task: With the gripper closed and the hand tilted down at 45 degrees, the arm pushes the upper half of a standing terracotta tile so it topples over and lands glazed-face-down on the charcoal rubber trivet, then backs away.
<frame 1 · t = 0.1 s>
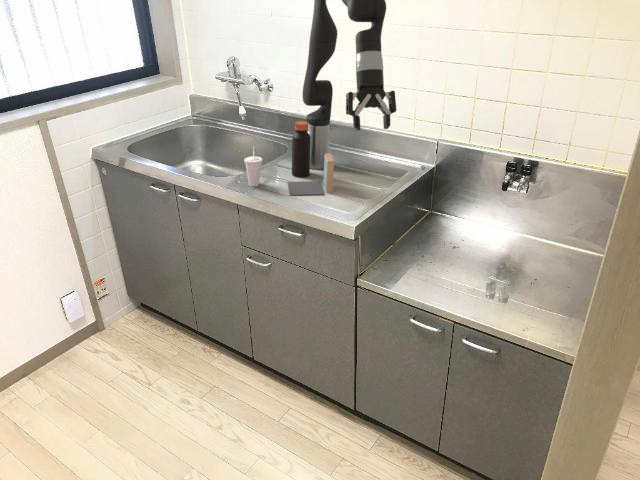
hand: (372, 129, 151), 31 cm above the counter, tool tilted 20°, fingers open, 8 cm apart
mat: (305, 188, 192), on the counter
smoothie: (253, 185, 194), on the counter
bottle: (300, 174, 204), on the counter
tile: (327, 188, 193), on the counter
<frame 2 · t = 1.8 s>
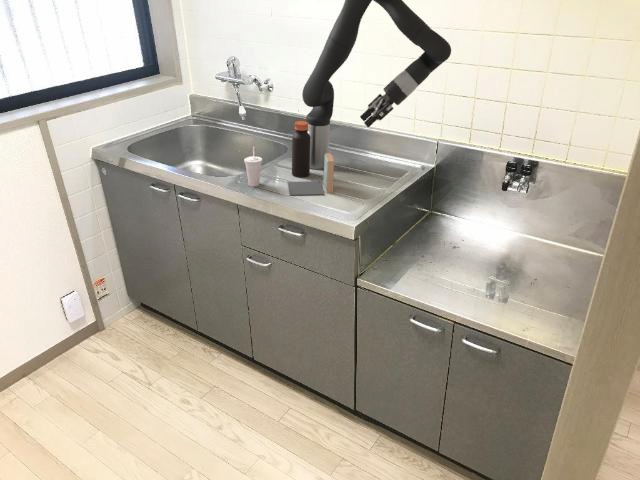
hand: (363, 122, 183), 24 cm above the counter, tool tilted 45°, fingers open, 7 cm apart
nothing on the counter moved.
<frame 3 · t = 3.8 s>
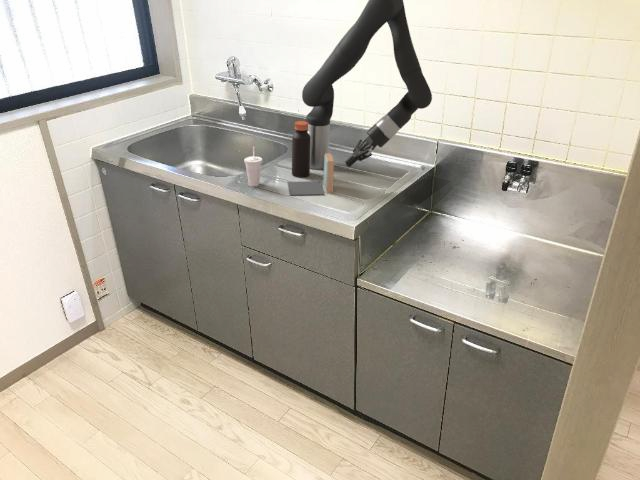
hand: (347, 164, 189), 9 cm above the counter, tool tilted 45°, fingers closed
nothing on the counter moved.
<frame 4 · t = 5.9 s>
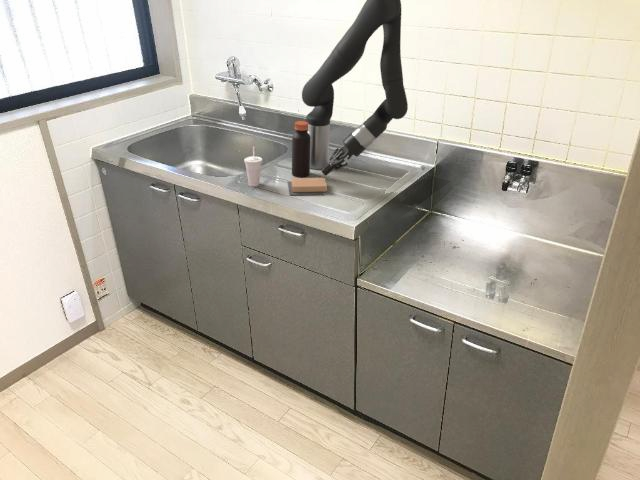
hand: (323, 173, 190), 6 cm above the counter, tool tilted 45°, fingers closed
tile: (325, 184, 192), point 2 cm above the counter, tilted 90°, touching mat
everything else where it was.
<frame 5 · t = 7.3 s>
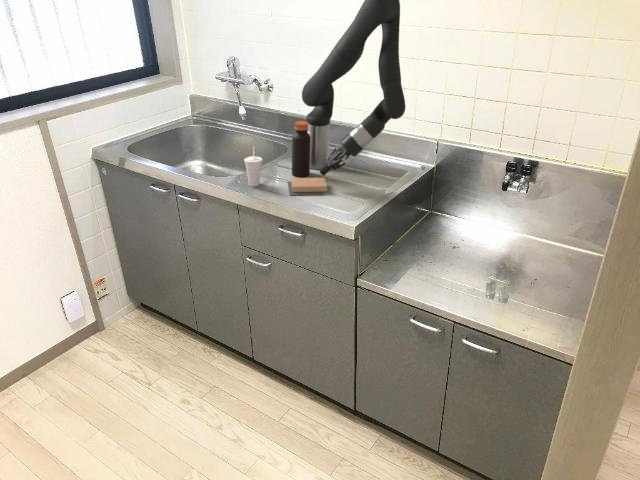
hand: (321, 173, 189), 6 cm above the counter, tool tilted 45°, fingers closed
nothing on the counter moved.
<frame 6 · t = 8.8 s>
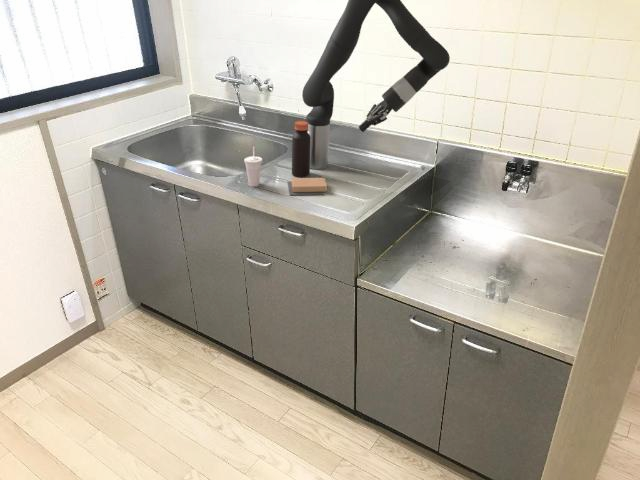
hand: (360, 129, 184), 22 cm above the counter, tool tilted 45°, fingers closed
nothing on the counter moved.
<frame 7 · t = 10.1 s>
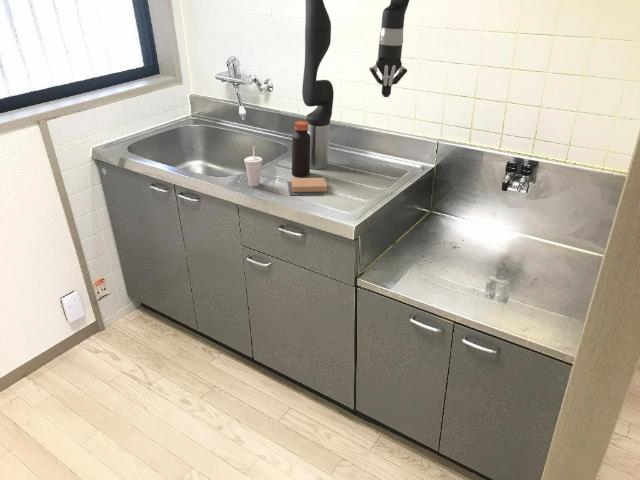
hand: (385, 96, 180), 33 cm above the counter, tool pointing down, fingers closed
nothing on the counter moved.
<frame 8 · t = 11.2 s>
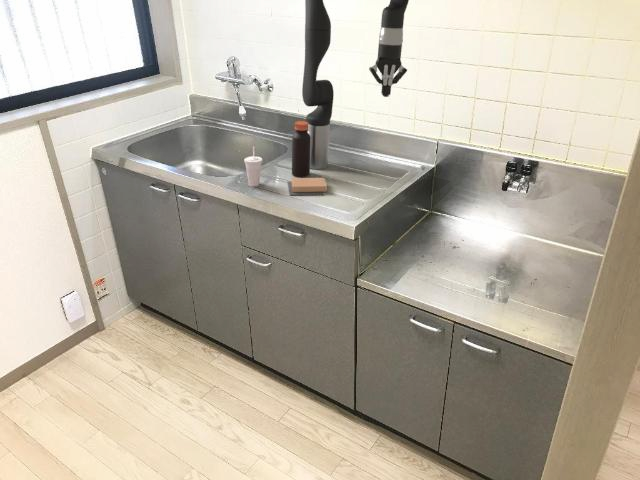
hand: (385, 96, 180), 33 cm above the counter, tool pointing down, fingers closed
nothing on the counter moved.
at the end: tile tilted 90°; tile 7.1 cm from the mat (horizontally); tile point 1.6 cm above the counter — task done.
